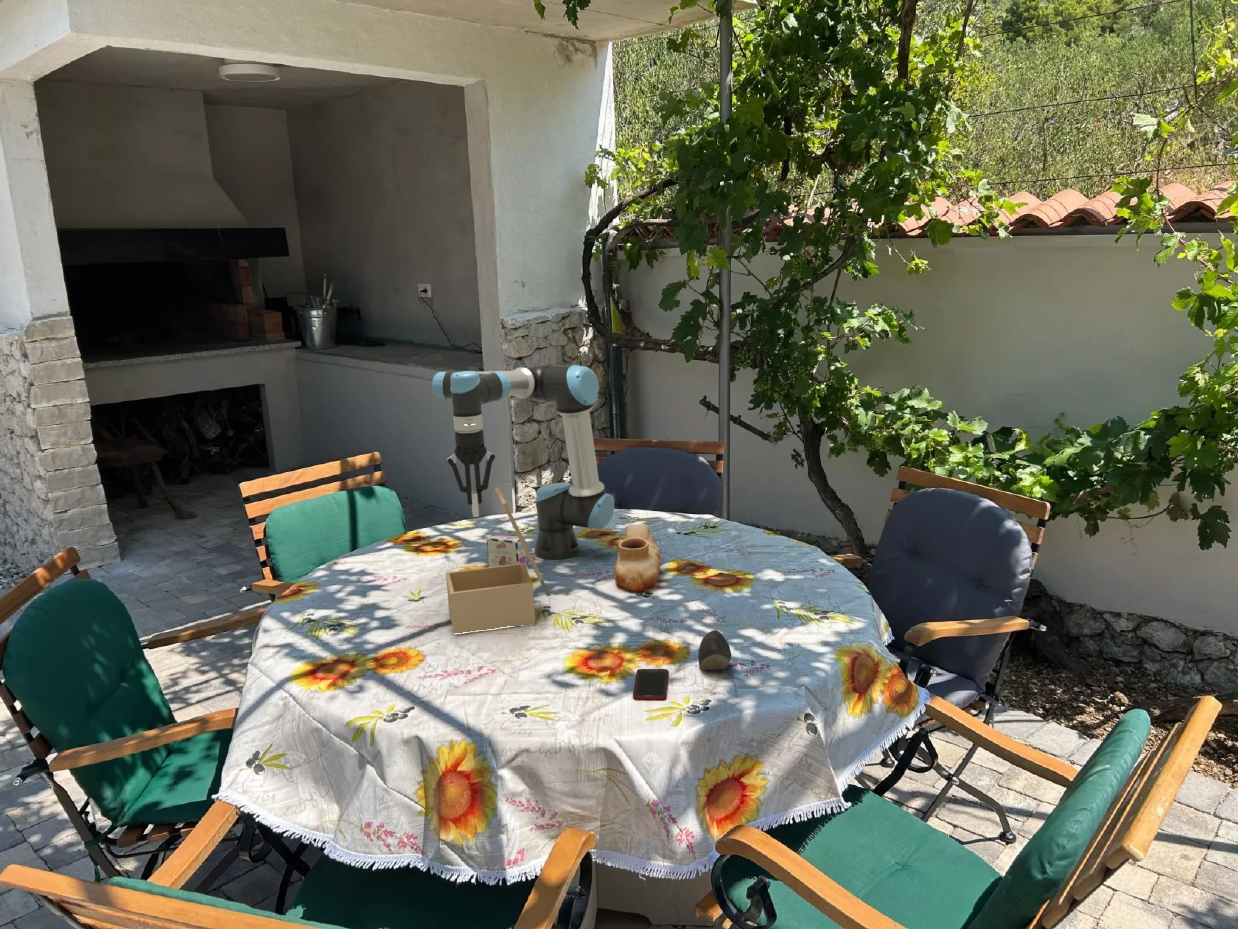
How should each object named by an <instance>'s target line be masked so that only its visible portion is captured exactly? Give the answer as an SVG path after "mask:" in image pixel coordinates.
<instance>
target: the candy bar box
mask: <svg viewBox="0 0 1238 929" xmlns="http://www.w3.org/2000/svg"><path fill="white" fill-rule="evenodd" d="M523 539H524V541H525V542H526V537H525V536H523ZM486 548H487V563H488V567H495V566H503V565H511V564H519V563H523V564H524V566H525V568H526V570H527V571H528V562H527V560H528V556H527V554H526V552H525V550H524V548H523V546H522V544H521V542H520V540H519V538H518V536H517V535H508V534H507V535H506V534H500V533H499V534H498V533H494V534H492V535H490V536H489V537H486Z"/></svg>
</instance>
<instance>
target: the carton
mask: <svg viewBox="0 0 1238 929" xmlns="http://www.w3.org/2000/svg"><path fill="white" fill-rule="evenodd" d="M445 580H446V590H447V600H448V601H447V602H448V612H450V614H449V617H451V618H450V621H451V622H452V623H451V622H450V623H451V627H452V626H453V628H452V631H454V632H453V634H454V633H463V632H470V631H476V630H487V629H495V628H500V627H507V626H521V625H529V626H531V625H530V624H535V625H536V613H535V599H534V583H533V581H532V579H531V577H530V574H529V573H528V569H527V570H526V568H525V566H524V564H523V563H519V564H511V565H503V566H495V567H489V566H488V567H479V568H472V569H471V568H470V569H464V570H455V571H448V572H445ZM521 627H522V626H521Z"/></svg>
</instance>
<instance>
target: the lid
mask: <svg viewBox="0 0 1238 929" xmlns="http://www.w3.org/2000/svg"><path fill="white" fill-rule="evenodd" d="M494 490H495V492H496V493H497V496H498V498H499V500H500V502H501V505H502V506H503V509H504V510H505V513H506V515H507V516H508V518H509V521H510V523H511V525H512V527H513V530H514V532H515V533H516V536H517V537H518V538H519V540H520V542H521V544H522V546H523V548H524V550H525V552H526V557H527V559H528V561H529V562H530V564H531V566H532V568H533V571H534V573H535V575H536V577H537V579H538V580H539V584H541V587H542V589H543V591H544V593H545V595H546V597H547V598H548V597H549V596H551V593H550V591H549V589H548V587H547V585H546V583H545V581H544V578H543V576H542V574H541V571H540V570H539V568H538V566H537V564H536V562H535V560H534V557H533V555H532V553H531V552H530V549H529V546H528V544H527V543H526V540H525V541H524V539H523V537H524V535H522V533H521V531H520V529H519V527H518V524H517V522H516V520H515V517H514V516H513V513H512V511H511V510H510V508H509V506H508V503H507V501H506V500H505V498H504V496H503V494H502V492H501V490H500V488H499V486H496V487H495V488H494Z"/></svg>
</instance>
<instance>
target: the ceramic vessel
mask: <svg viewBox="0 0 1238 929" xmlns="http://www.w3.org/2000/svg"><path fill="white" fill-rule="evenodd" d="M650 531H651V530H650V527H649V526H648V525H647V524H645V523H639V524H635V523H631V524H629V525H628V526H627V527H626V529H625V536H624V537H623V540H621V541H620V542H619V543H618V545H617V546H618V552H617V558H616V559H617V560H616V561H615V564H614V578H613V580H615V584H616V586H617V587H618V588H620V589H621V590H624V589H625V590H624V591H627V592H628V593H631V594H632V593H633V594H634V593H635V594H636V593H643V592H644V591H646V590H649V589H653V588H655V586H657V583H658V576H659V574H660V573H661V558H662V557H661V551H660V550H661V549H660V548H659V547H658V545H656V542H655V538H654V536H653V534H652V533H651V532H650Z"/></svg>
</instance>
